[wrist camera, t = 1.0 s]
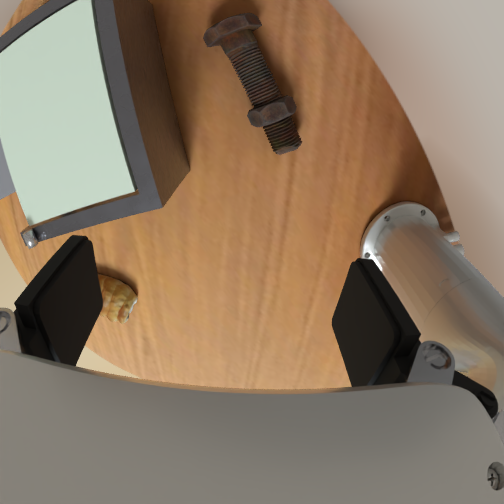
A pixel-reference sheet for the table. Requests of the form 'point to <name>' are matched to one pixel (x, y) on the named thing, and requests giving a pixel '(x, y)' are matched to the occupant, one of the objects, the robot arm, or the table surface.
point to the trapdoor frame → (125, 113)
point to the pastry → (116, 299)
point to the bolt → (256, 80)
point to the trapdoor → (60, 118)
